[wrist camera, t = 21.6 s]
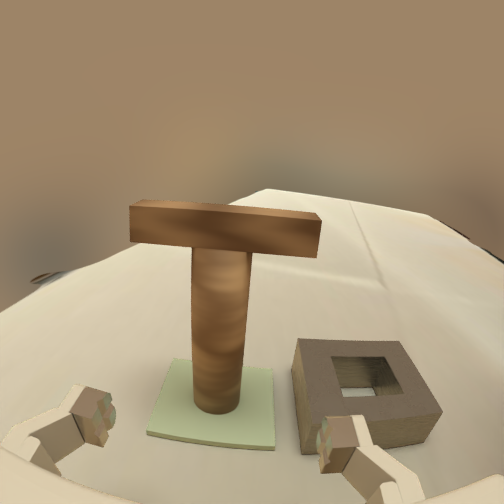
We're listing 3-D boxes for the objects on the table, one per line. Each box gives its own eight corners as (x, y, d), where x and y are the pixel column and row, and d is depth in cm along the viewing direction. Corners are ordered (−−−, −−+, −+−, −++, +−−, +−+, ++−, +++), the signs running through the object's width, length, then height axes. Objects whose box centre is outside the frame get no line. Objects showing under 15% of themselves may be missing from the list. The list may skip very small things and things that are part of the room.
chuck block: (387, 370, 31) (398, 341, 29) (423, 442, 20) (442, 411, 19) (291, 369, 31) (297, 338, 29) (301, 454, 20) (312, 423, 19)
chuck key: (284, 388, 27) (313, 210, 21) (286, 419, 23) (324, 223, 18) (156, 374, 27) (146, 197, 22) (144, 403, 23) (124, 208, 18)
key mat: (271, 373, 30) (272, 368, 30) (274, 450, 20) (275, 446, 20) (173, 362, 30) (173, 358, 30) (147, 434, 20) (146, 430, 20)
